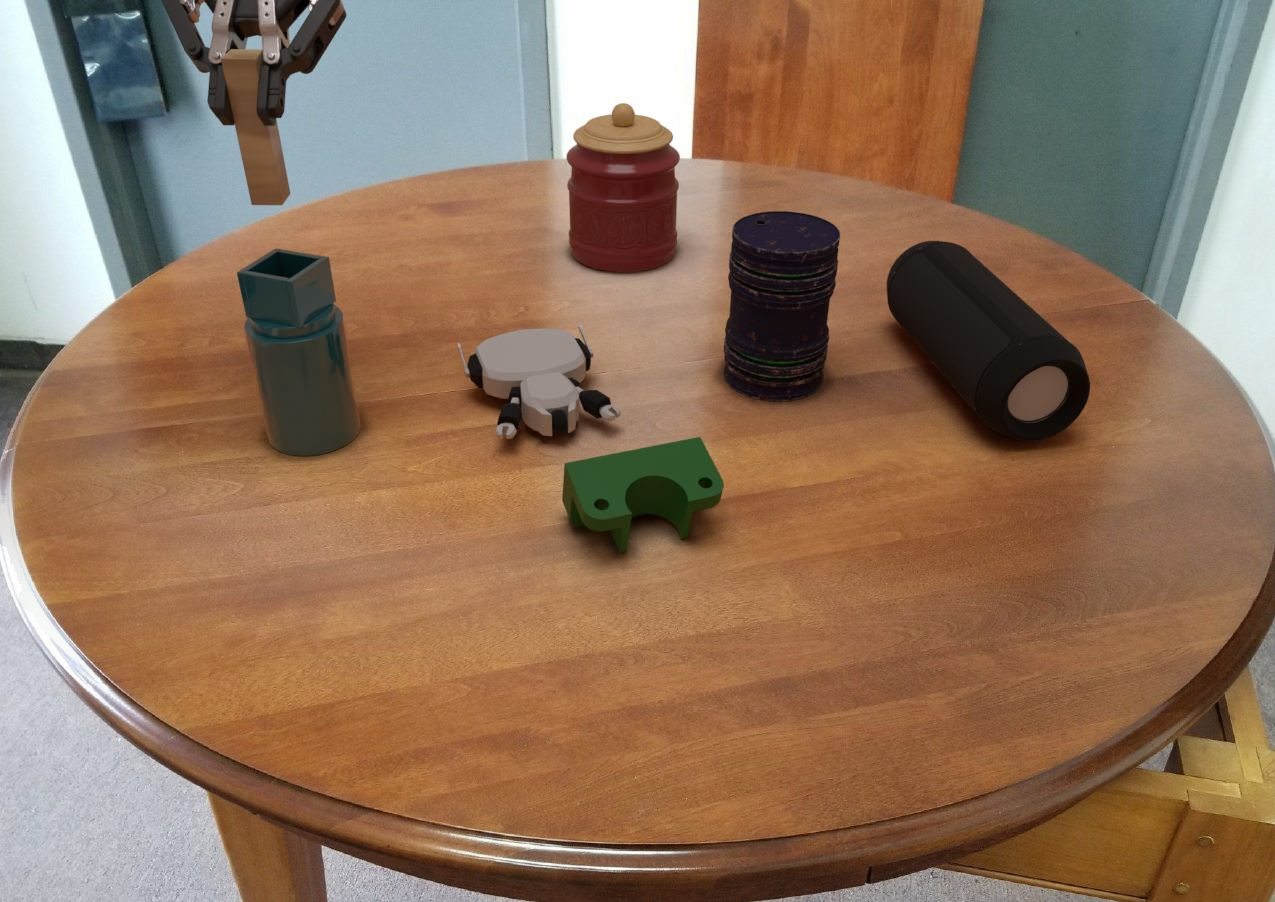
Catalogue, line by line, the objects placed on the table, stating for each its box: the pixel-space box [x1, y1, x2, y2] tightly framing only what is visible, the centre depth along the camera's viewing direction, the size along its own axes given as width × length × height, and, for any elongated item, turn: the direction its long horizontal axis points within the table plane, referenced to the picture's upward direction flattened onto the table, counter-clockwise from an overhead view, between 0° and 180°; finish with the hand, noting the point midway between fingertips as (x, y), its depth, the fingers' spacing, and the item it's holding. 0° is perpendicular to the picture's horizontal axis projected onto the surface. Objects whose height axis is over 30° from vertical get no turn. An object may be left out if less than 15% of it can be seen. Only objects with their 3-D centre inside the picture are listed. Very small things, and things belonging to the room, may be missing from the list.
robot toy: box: [456, 324, 622, 440], centre depth 98 cm, size 12×4×15 cm
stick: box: [221, 48, 291, 206], centre depth 80 cm, size 2×2×11 cm
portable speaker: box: [886, 240, 1091, 442], centre depth 101 cm, size 26×10×10 cm, turn 11°
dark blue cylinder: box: [723, 210, 841, 402], centre depth 100 cm, size 10×10×15 cm
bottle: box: [236, 248, 362, 457], centre depth 91 cm, size 8×8×16 cm
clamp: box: [561, 436, 725, 554], centre depth 83 cm, size 12×6×9 cm, turn 104°
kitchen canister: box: [565, 102, 681, 273], centre depth 124 cm, size 13×13×18 cm
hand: (245, 119), depth 77 cm, fingers closed on stick, 2 cm apart
